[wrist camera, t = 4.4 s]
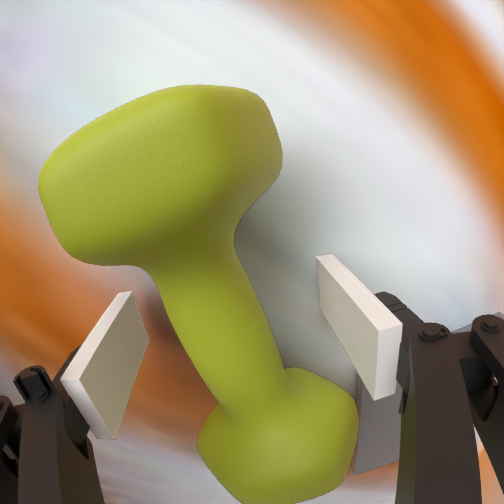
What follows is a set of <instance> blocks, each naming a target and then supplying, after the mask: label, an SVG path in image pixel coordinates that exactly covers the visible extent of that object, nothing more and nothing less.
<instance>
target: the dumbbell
mask: <svg viewBox="0 0 504 504" xmlns="http://www.w3.org/2000/svg"><path fill="white" fill-rule="evenodd" d="M281 167H282V149H281V143H280V139H279V136H278V133H277V130H276V127H275V124H274V122H273V119H272V117H271V114H270V111H269V109H268V107H267V106H266V104H265V102H264V101H263V100H262V99H261V98H260V97H259V96H258V95H257V94H255V93H253V92H250V91H248V90H245V89H241V88H235V87H227V86H213V85H183V86H176V87H171V88H166V89H163V90H159V91H156V92H153V93H150V94H147V95H145V96H142V97H140V98H137V99H135V100H133V101H130V102H128V103H126V104H124V105H122V106H120V107H118V108H116V109H114V110H112V111H110V112H108V113H106V114H104V115H102V116H101V117H99V118H97V119H95V120H94V121H92V122H90V123H89V124H87V125H85V126H84V127H82V128H81V129H79V130H78V131H76V132H75V133H74V134H72V135H71V136H70V137H69V138H68V139H66V140H65V141H64V142H63V143H62V144H61V145H59V146H58V147H57V148H56V149H55V150H54V152H53V153H52V154H51V155H50V156H49V158H48V159H47V160H46V162H45V163H44V165H43V168H42V170H41V172H40V175H39V184H38V190H39V194H40V199H41V202H42V204H43V207H44V210H45V212H46V215H47V217H48V220H49V222H50V225H51V227H52V229H53V231H54V233H55V235H56V237H57V239H58V241H59V242H60V244H61V245H62V247H63V248H64V249H65V250H66V251H67V252H68V253H69V254H70V255H71V256H72V257H73V258H76V259H78V260H80V261H82V262H85V263H89V264H94V265H101V266H117V265H131V266H137V267H140V268H142V269H143V270H145V271H146V272H147V273H148V274H149V275H150V276H151V277H152V279H153V281H154V282H155V284H156V286H157V288H158V291H159V293H160V295H161V298H162V301H163V304H164V307H165V309H166V312H167V315H168V317H169V319H170V322H171V324H172V326H173V328H174V330H175V332H176V334H177V336H178V338H179V340H180V341H181V343H182V345H183V347H184V349H185V351H186V352H187V354H188V356H189V358H190V359H191V361H192V363H193V365H194V366H195V368H196V370H197V371H198V373H199V375H200V376H201V378H202V379H203V381H204V383H205V384H206V386H207V387H208V388H209V390H210V391H211V393H212V394H213V396H214V397H215V398H216V399H217V400H218V401H219V402H218V403H217V405H216V406H215V407H214V409H213V410H212V412H211V413H210V415H209V417H208V418H207V420H206V422H205V424H204V426H203V427H202V429H201V432H200V434H199V436H198V439H197V448H198V452H199V454H200V456H201V458H202V459H203V461H204V463H205V464H206V466H207V467H208V468H209V470H210V471H211V472H212V473H213V475H214V476H215V477H216V478H217V480H218V481H219V482H220V483H221V484H222V485H223V486H224V488H225V489H226V490H227V491H228V492H229V493H230V494H231V495H233V496H234V497H235V498H236V499H237V500H238V501H239V502H240V503H242V504H295V503H299V502H303V501H306V500H309V499H313V498H316V497H318V496H321V495H324V494H326V493H328V492H330V491H332V490H334V489H335V488H336V487H338V486H339V485H340V484H341V483H342V481H343V480H344V478H345V476H346V474H347V471H348V469H349V466H350V463H351V460H352V457H353V453H354V450H355V446H356V441H357V436H358V431H359V416H358V411H357V407H356V403H355V401H354V399H353V397H352V396H351V395H350V394H349V393H348V392H347V391H346V390H345V389H343V388H342V387H340V386H338V385H337V384H335V383H333V382H331V381H329V380H327V379H325V378H323V377H321V376H319V375H317V374H315V373H312V372H310V371H308V370H305V369H301V368H295V367H292V368H286V369H284V368H283V364H282V360H281V357H280V354H279V351H278V348H277V345H276V342H275V339H274V336H273V333H272V330H271V328H270V325H269V322H268V320H267V318H266V315H265V313H264V311H263V308H262V306H261V304H260V302H259V299H258V297H257V295H256V293H255V290H254V288H253V286H252V284H251V282H250V280H249V278H248V276H247V274H246V272H245V270H244V268H243V266H242V264H241V262H240V260H239V258H238V256H237V254H236V251H235V247H234V235H235V230H236V227H237V225H238V223H239V221H240V219H241V218H242V217H243V215H244V214H245V212H246V211H247V210H248V209H249V208H250V207H251V206H252V205H253V204H254V203H255V202H256V201H257V200H258V199H259V198H260V197H261V196H262V195H263V194H264V193H265V192H266V191H267V190H268V189H269V188H270V187H271V185H272V184H273V183H274V181H275V180H276V178H277V177H278V175H279V173H280V170H281Z"/></svg>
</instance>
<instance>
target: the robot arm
mask: <svg viewBox="0 0 504 504" xmlns="http://www.w3.org/2000/svg"><path fill="white" fill-rule="evenodd" d="M316 265H317V275H318V285H319V296H320V307H321V311H322V313H323V314H324V316H325V318H326V319H327V321H328V323H329V324H330V326H331V328H332V329H333V331H334V333H335V334H336V336H337V338H338V340H339V341H340V343H341V345H342V346H343V348H344V350H345V351H346V353H347V355H348V357H349V358H350V360H351V362H352V363H353V365H354V367H355V369H356V370H357V372H358V374H359V376H360V377H361V379H362V381H363V383H364V384H365V386H366V388H367V390H368V391H369V393H370V395H371V397H372V398H373V400H374V401H375V400H378V399H381V398H384V397H387V396H389V395H392V394H395V390H396V383H397V381H398V383H399V384H400V386H401V387H402V389H403V390H402V396H401V401H400V407H399V412H398V414H401V434H400V455H399V469H398V481H397V490H396V499H395V504H482V496H481V481H480V471H479V460H478V452H477V445H476V438H475V432H474V426H475V428H476V430H477V433H478V435H479V437H480V439H481V441H482V443H483V445H484V448H485V450H486V452H487V454H488V457H489V459H490V461H491V464H492V466H493V469H494V471H495V473H496V476H497V478H498V481H499V483H500V486H501V489H502V491H503V494H504V320H503V319H502V318H500V317H497V316H495V315H481V316H479V317H477V318H475V319H474V320H473V322H472V328H471V331H467V332H460V333H451V332H450V331H449V329H448V328H446V327H445V326H443V325H440V324H437V323H424V322H423V321H422V320H421V319H420V318H419V317H418V316H417V315H415V314H414V313H413V312H412V311H411V310H410V309H409V308H407V306H406V305H405V304H403V303H402V302H401V301H400V300H399V299H398V298H397V297H396V296H394V295H392V294H389V293H387V292H380V293H376V294H373V293H372V292H371V291H370V290H369V289H368V288H367V287H366V286H365V285H364V284H362V283H361V282H360V281H359V280H358V279H357V278H356V277H355V276H354V275H353V274H352V273H351V272H350V271H349V270H348V269H347V268H346V267H345V266H344V265H343V264H342V263H341V262H340V261H339V260H338V259H337V258H336V257H335V256H333V255H332V254H327V255H322V256H316ZM149 341H150V339H149V337H148V334H147V331H146V328H145V326H144V323H143V320H142V317H141V314H140V311H139V308H138V305H137V302H136V299H135V296H134V293H133V291H127V292H121V293H118V294H117V296H116V297H115V298H114V300H113V301H112V303H111V304H110V305H109V307H108V308H107V310H106V311H105V312H104V314H103V315H102V317H101V318H100V319H99V321H98V322H97V324H96V325H95V327H94V328H93V330H92V331H91V333H90V334H89V335H88V337H87V338H86V340H85V341H84V343H83V344H82V346H79V347H78V348H76V349H75V350H74V351H73V352H72V353H71V354H70V355H69V357H68V358H67V360H66V362H65V363H64V364H63V366H62V368H61V369H60V370H59V372H58V373H57V375H56V376H55V378H54V380H53V381H51V379H50V377H49V376H48V374H47V372H46V370H45V368H44V367H42V366H38V365H36V366H31V367H28V368H26V369H24V370H23V371H21V372H20V373H19V374H18V375H17V376H16V377H15V379H14V381H13V382H14V384H15V386H16V387H17V389H18V391H19V392H20V394H21V396H22V397H23V399H24V400H25V404H22V405H17V406H13V404H12V402H11V401H10V399H9V398H8V397H7V396H0V504H105V503H104V499H103V495H102V491H101V487H100V483H99V478H98V473H97V469H96V464H95V459H94V453H93V448H92V444H91V441H90V440H89V438H88V437H87V433H88V431H89V428H90V429H91V430H92V432H93V433H94V435H95V436H96V438H97V439H116V437H117V434H118V431H119V428H120V425H121V421H122V418H123V415H124V412H125V409H126V406H127V403H128V400H129V397H130V394H131V391H132V388H133V385H134V382H135V380H136V377H137V374H138V371H139V368H140V365H141V363H142V360H143V357H144V354H145V351H146V349H147V346H148V343H149ZM494 377H495V378H496V379H497V381H498V383H497V381H496V380H495V378H494ZM473 424H474V426H473Z"/></svg>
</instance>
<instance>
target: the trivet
mask: <svg viewBox="0 0 504 504" xmlns="http://www.w3.org/2000/svg"><path fill="white" fill-rule="evenodd" d="M494 315H495V316H497V317H500V318H502V319H503V320H504V315H503V314H502V313H500V312H498V313H496V314H494ZM471 328H472V324H471V325H468V326H466V327H464V328H461V329H459V330H456V331H453V332H451V333H460V332H467V331H471ZM402 390H403V389H402V387H401V386H400V384H399V383H398V381H397V383H396V390H395V394H392V395H389V396H387V397H384V398H381V399H378V400H375V401H374V400H373V398H372V397H371V395H370V393H369V391H368V390H367V388H366V386H365V384H364V383H363V381H362V379H361V377H360V376H359V374H358V372H357V394H356V407H357V411H358V416H359V431H358V436H357V441H356V446H355V450H354V453H353V457H352V461H351V468H352V471H353V474H354V475H357V474H360V473H363V472H366V471H369V470H373V469H376V468H379V467H381V466H384V465H387V464H390V463H393V462H395V461H398V460H399V455H400V434H401V414H398V412H399V407H400V401H401V396H402Z"/></svg>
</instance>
